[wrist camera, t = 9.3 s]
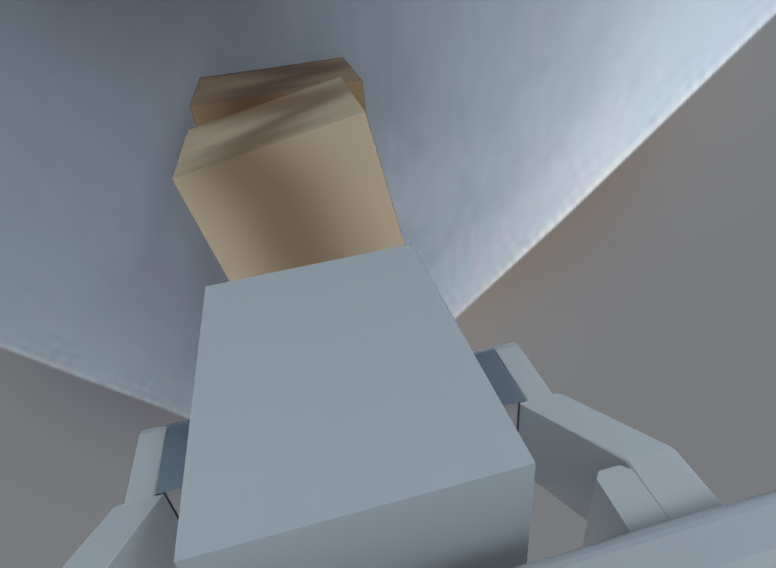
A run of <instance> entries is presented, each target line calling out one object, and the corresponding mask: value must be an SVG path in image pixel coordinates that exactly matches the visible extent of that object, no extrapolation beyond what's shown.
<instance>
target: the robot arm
mask: <svg viewBox="0 0 776 568" xmlns="http://www.w3.org/2000/svg"><path fill="white" fill-rule="evenodd" d="M473 353H474V355H475V357H476V359H477V360H478V362H479V364H480V366H481V367H482V369H483V371H484V373H485V374H486V376H487V378H488V380H489V382H490V383H491V385H492V387H493V389H494V390H495V392H496V394H497V396H498V397H499V399H500V401H501V403H502V405H503V406H504V408H505V410H506V412H507V413H508V415H509V417H510V419H511V420H512V422H513V424H514V426H515V428H516V429H517V431H518V433H519V435H520V436H521V438H522V440H523V442H524V443H525V445H526V447H527V449H528V451H529V452H530V454H531V456H532V458H533V459H534V461H535V463H536V465H535V476H534V481H535V482H536V483H538V484H539V485H540V486H542V487H543V488H544V489H546V490H547V491H548V492H550V493H551V494H552V495H554V496H555V497H556V498H558V499H559V500H560V501H562V502H563V503H564V504H566V505H567V506H568V507H570V508H571V509H572V510H574V511H575V512H576V513H578V514H579V515H580V516H582V517H583V518H584V519H586V520H587V521H588V522H587V528H586V532H585V537H584V542H583V547H581V548H577V549H574V550H571V551H568V552H564V553H561V554H558V555H554V556H551V557H547V558H544V559H541V560H537V561H534V562H531V563H527V564H524V565H521V566H517V567H514V568H776V489H775V490H772V491H768V492H765V493H762V494H758V495H755V496H751V497H749V498H745V499H741V500H738V501H735V502H732V503H728V504H725V505H722V504H721V503H720V502H719V501H718V499H717V498H716V497H715V496H714V495H713V494H712V492H711V491H710V490H709V489H708V488H707V487H706V485H705V484H704V483H703V482H702V481H701V480H700V478H699V477H698V476H697V475H696V474H695V472H693V470H692V469H691V468H690V467H689V466H688V464H687V463H686V462H685V461H684V460H683V459H682V457H681V456H680V455H679V454H678V453H677V452H676V451H675V449H674V448H672V447H670V446H668V445H666V444H664V443H662V442H659V441H658V440H655V439H653V438H651V437H649V436H647V435H645V434H643V433H641V432H639V431H637V430H635V429H632V428H630V427H629V426H626V425H625V424H622V423H620V422H618V421H616V420H614V419H612V418H610V417H608V416H606V415H604V414H602V413H600V412H598V411H596V410H593V409H592V408H589V407H587V406H585V405H583V404H581V403H579V402H577V401H575V400H573V399H571V398H569V397H567V396H565V395H562V394H561V393H558V394H554V395H553V394H552V393H551V391H550V390H549V388H548V387H547V385H546V384H545V383H544V381H543V380H542V378H541V377H540V376H539V374H538V373H537V371H536V370H535V368H534V367H533V365H532V364H531V363H530V361H529V360H528V358H527V357H526V355H525V354H524V353H523V351H522V350H521V348H520V347H519V345H517V344H516V343H514V342H512V343H508V344H504V345H500V346H496V347H492V348H491V349H490V348H489V349H485V350H480V351H476V352H473ZM189 424H190V420H185V421H181V422H176V423H171V424H169V425H165V426H160V427H155V428H151V429H146V430H143V431H142V432H141V434H140V435H139V437H138V440H137V444H136V449H135V454H134V458H133V462H132V467H131V471H130V477H129V480H128V485H127V489H126V494H125V499H124V503H123V504H121V505H118V506H115V507H114V508H113V509H112V510H111V511H110V513H109V514H108V515H107V516H106V517H105V519H104V520H103V521H102V522H101V523H100V524H99V525H98V527H97V528H96V529H95V530H94V531H93V532H92V534H91V535H90V536H89V537H88V538H87V539H86V541H85V542H84V543H83V544H82V545H81V546H80V548H79V549H78V550H77V551H76V552H75V553H74V555H73V556H72V557H71V558H70V559H69V560H68V562H67V563H66V564H65V565H64V566H63V568H177V567H176V565H175V564H174V555H175V546H176V537H177V528H178V520H179V511H180V502H181V494H182V485H183V476H184V468H185V459H186V450H187V441H188V433H189Z"/></svg>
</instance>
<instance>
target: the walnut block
mask: <svg viewBox="0 0 776 568" xmlns="http://www.w3.org/2000/svg"><path fill="white" fill-rule="evenodd" d="M338 77H341V78H342V80H343V81H344V82H345V84H346V85H347V87H348V88H349V90H350V91H351V92H352V94H353V95H354V97H355V98H356V99H357V101H358V102H359V104H360V105H361V107H362V108H363V109H364V111H365V113H366V110H365V101H364V92H363V84H362V80H361V79H360V77H359V76H358V75H357V74H356V73H355V71H354V70H353V69H352V68H351V67H350V65H349V64H348V63H347V62H346V61H345V60H344V58H343V57H342V58H335V59H328V60H322V61H315V62H308V63H301V64H294V65H287V66H280V67H273V68H266V69H259V70H252V71H245V72H238V73H231V74H224V75H217V76H211V77H204V78H200V79H199V82H198V85H197V88H196V91H195V93H194V96H193V99H192V102H191V105H190V109H191V112H192V115H193V119H194V122H195V125H196V127H197V126H200V125H203V124H206V123H209V122H212V121H215V120H217V119H220V118H223V117H226V116H229V115H232V114H235V113H237V112H240V111H243V110H246V109H249V108H252V107H255V106H258V105H260V104H263V103H266V102H269V101H272V100H275V99H278V98H280V97H283V96H286V95H289V94H292V93H295V92H298V91H301V90H303V89H306V88H309V87H312V86H315V85H318V84H321V83H323V82H326V81H329V80H332V79H335V78H338Z"/></svg>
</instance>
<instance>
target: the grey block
mask: <svg viewBox="0 0 776 568" xmlns="http://www.w3.org/2000/svg"><path fill="white" fill-rule="evenodd" d="M535 465H536V463H535V461H534V459H533V458H532V456H531V454H530V452H529V451H528V449H527V447H526V445H525V443H524V442H523V440H522V438H521V436H520V435H519V433H518V431H517V429H516V428H515V426H514V424H513V422H512V420H511V419H510V417H509V415H508V413H507V412H506V410H505V408H504V406H503V405H502V403H501V401H500V399H499V397H498V396H497V394H496V392H495V390H494V389H493V387H492V385H491V383H490V382H489V380H488V378H487V376H486V374H485V373H484V371H483V369H482V367H481V366H480V364H479V362H478V360H477V359H476V357H475V355H474V353H473V352H472V350H471V348H470V346H469V345H468V343H467V341H466V339H465V337H464V336H463V334H462V332H461V330H460V329H459V327H458V325H457V323H456V321H455V320H454V318H453V316H452V314H451V313H450V311H449V309H448V307H447V306H446V304H445V302H444V300H443V298H442V297H441V295H440V293H439V291H438V290H437V288H436V286H435V284H434V283H433V281H432V279H431V277H430V275H429V274H428V272H427V270H426V268H425V267H424V265H423V263H422V261H421V260H420V258H419V256H418V254H417V252H416V251H415V249H414V247H413V245H412V244H408V245H404V246H399V247H394V248H389V249H384V250H379V251H374V252H370V253H365V254H360V255H355V256H350V257H345V258H341V259H336V260H331V261H326V262H321V263H316V264H311V265H307V266H302V267H297V268H292V269H287V270H282V271H278V272H273V273H268V274H263V275H258V276H253V277H249V278H244V279H239V280H234V281H229V282H224V283H219V284H215V285H210V286H205V294H204V302H203V311H202V320H201V328H200V337H199V346H198V354H197V363H196V372H195V381H194V389H193V398H192V407H191V415H190V424H189V433H188V441H187V450H186V459H185V468H184V476H183V485H182V494H181V502H180V511H179V520H178V528H177V537H176V546H175V555H174V564H175V565H176V567H177V568H514V567H517V566H521V565H524V564H527V553H528V541H529V530H530V520H531V508H532V497H533V487H534V476H535Z"/></svg>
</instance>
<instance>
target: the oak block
mask: <svg viewBox="0 0 776 568" xmlns="http://www.w3.org/2000/svg"><path fill="white" fill-rule="evenodd" d="M172 180H173V182H174V184H175V185H176V187H177V189H178V191H179V193H180V194H181V196H182V198H183V200H184V201H185V203H186V205H187V207H188V209H189V210H190V212H191V214H192V216H193V217H194V219H195V221H196V223H197V225H198V226H199V228H200V230H201V232H202V233H203V235H204V237H205V239H206V241H207V242H208V244H209V246H210V248H211V249H212V251H213V253H214V255H215V257H216V258H217V260H218V262H219V264H220V265H221V267H222V269H223V271H224V273H225V274H226V276H227V278H228V280H229V281H234V280H239V279H244V278H249V277H253V276H258V275H263V274H268V273H273V272H278V271H282V270H287V269H292V268H297V267H302V266H307V265H311V264H316V263H321V262H326V261H331V260H336V259H341V258H345V257H350V256H355V255H360V254H365V253H370V252H374V251H379V250H384V249H389V248H394V247H399V246H404V245H405V244H404V241H403V238H402V234H401V231H400V227H399V224H398V221H397V217H396V214H395V211H394V207H393V204H392V201H391V197H390V194H389V191H388V187H387V184H386V180H385V177H384V174H383V170H382V167H381V164H380V160H379V157H378V154H377V150H376V147H375V144H374V140H373V137H372V133H371V130H370V127H369V123H368V120H367V117H366V113H365V111H364V109H363V108H362V107H361V105H360V104H359V102H358V101H357V99H356V98H355V97H354V95H353V94H352V92H351V91H350V90H349V88H348V87H347V85H346V84H345V82H344V81H343V80H342V78H341V77H338V78H335V79H332V80H329V81H326V82H323V83H321V84H318V85H315V86H312V87H309V88H306V89H303V90H301V91H298V92H295V93H292V94H289V95H286V96H283V97H280V98H278V99H275V100H272V101H269V102H266V103H263V104H260V105H258V106H255V107H252V108H249V109H246V110H243V111H240V112H237V113H235V114H232V115H229V116H226V117H223V118H220V119H217V120H215V121H212V122H209V123H206V124H203V125H200V126H197V127H194V128H192V129H189V130H188V131H187V135H186V138H185V141H184V144H183V147H182V150H181V153H180V156H179V159H178V163H177V166H176V169H175V172H174V175H173V178H172Z"/></svg>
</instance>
